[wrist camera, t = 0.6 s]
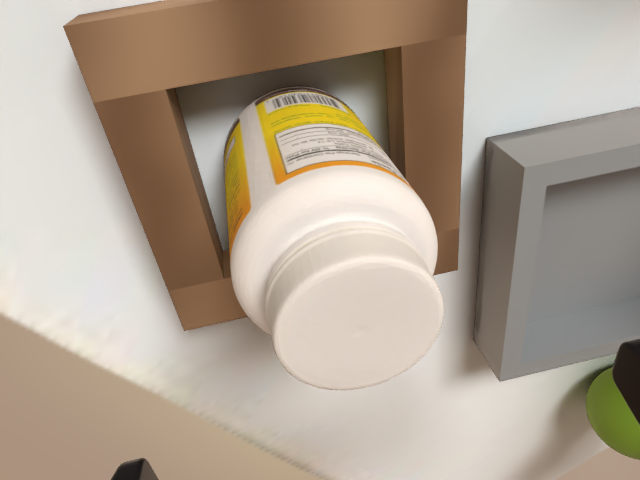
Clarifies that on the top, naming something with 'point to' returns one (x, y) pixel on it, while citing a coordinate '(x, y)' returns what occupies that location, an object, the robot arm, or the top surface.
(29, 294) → the top surface
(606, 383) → the snail figurine
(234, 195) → the supplement bottle
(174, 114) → the wooden rectangular frame
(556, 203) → the parts tray
